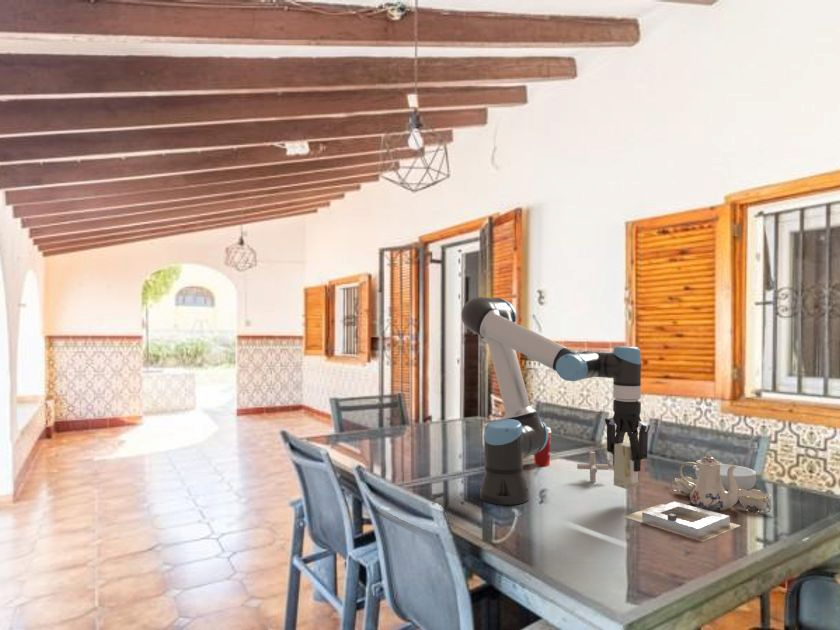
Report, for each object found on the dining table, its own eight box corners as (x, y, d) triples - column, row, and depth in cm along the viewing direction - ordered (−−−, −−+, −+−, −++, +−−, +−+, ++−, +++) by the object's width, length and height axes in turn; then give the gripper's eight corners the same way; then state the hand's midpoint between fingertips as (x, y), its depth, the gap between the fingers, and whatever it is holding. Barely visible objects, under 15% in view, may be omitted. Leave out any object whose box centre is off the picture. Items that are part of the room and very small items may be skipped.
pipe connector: (610, 486, 181) (609, 456, 181) (578, 485, 183) (578, 455, 183) (606, 478, 190) (605, 449, 191) (576, 477, 192) (575, 448, 193)
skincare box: (626, 489, 156) (626, 446, 156) (613, 485, 159) (613, 443, 160) (639, 486, 159) (640, 443, 159) (626, 482, 163) (627, 441, 163)
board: (703, 545, 131) (703, 541, 131) (623, 520, 149) (623, 516, 149) (740, 529, 141) (740, 525, 141) (661, 507, 159) (661, 503, 159)
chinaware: (778, 517, 154) (778, 457, 156) (761, 526, 142) (761, 461, 144) (676, 496, 174) (676, 443, 176) (653, 503, 163) (654, 446, 164)
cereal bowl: (747, 485, 179) (746, 464, 179) (764, 501, 163) (763, 477, 163) (690, 482, 184) (690, 461, 184) (701, 497, 168) (701, 474, 168)
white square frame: (698, 539, 132) (697, 524, 132) (642, 521, 145) (642, 508, 145) (729, 525, 141) (729, 512, 141) (674, 510, 153) (674, 497, 153)
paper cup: (556, 465, 209) (555, 428, 209) (539, 467, 206) (538, 430, 206) (544, 461, 216) (543, 425, 216) (527, 463, 213) (527, 427, 214)
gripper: (662, 402, 154) (661, 485, 154) (609, 395, 169) (609, 471, 169) (646, 404, 150) (645, 490, 150) (593, 396, 165) (593, 474, 164)
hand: (626, 479), depth 159 cm, fingers closed on skincare box, 4 cm apart
